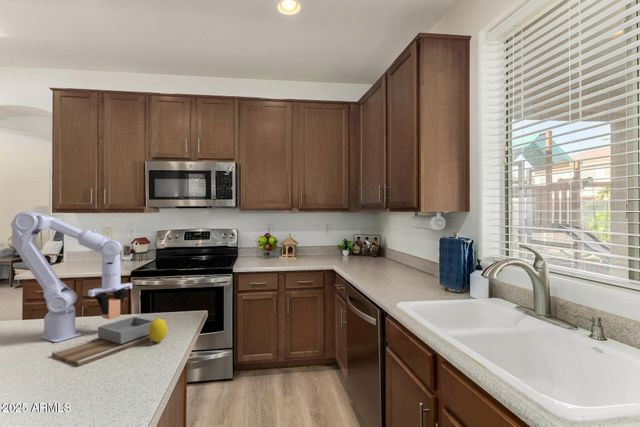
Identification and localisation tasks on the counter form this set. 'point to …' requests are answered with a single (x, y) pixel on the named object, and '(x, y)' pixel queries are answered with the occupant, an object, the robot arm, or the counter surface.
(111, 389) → the counter surface
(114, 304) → the block
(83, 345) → the track
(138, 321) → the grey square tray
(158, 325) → the lemon
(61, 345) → the counter surface
